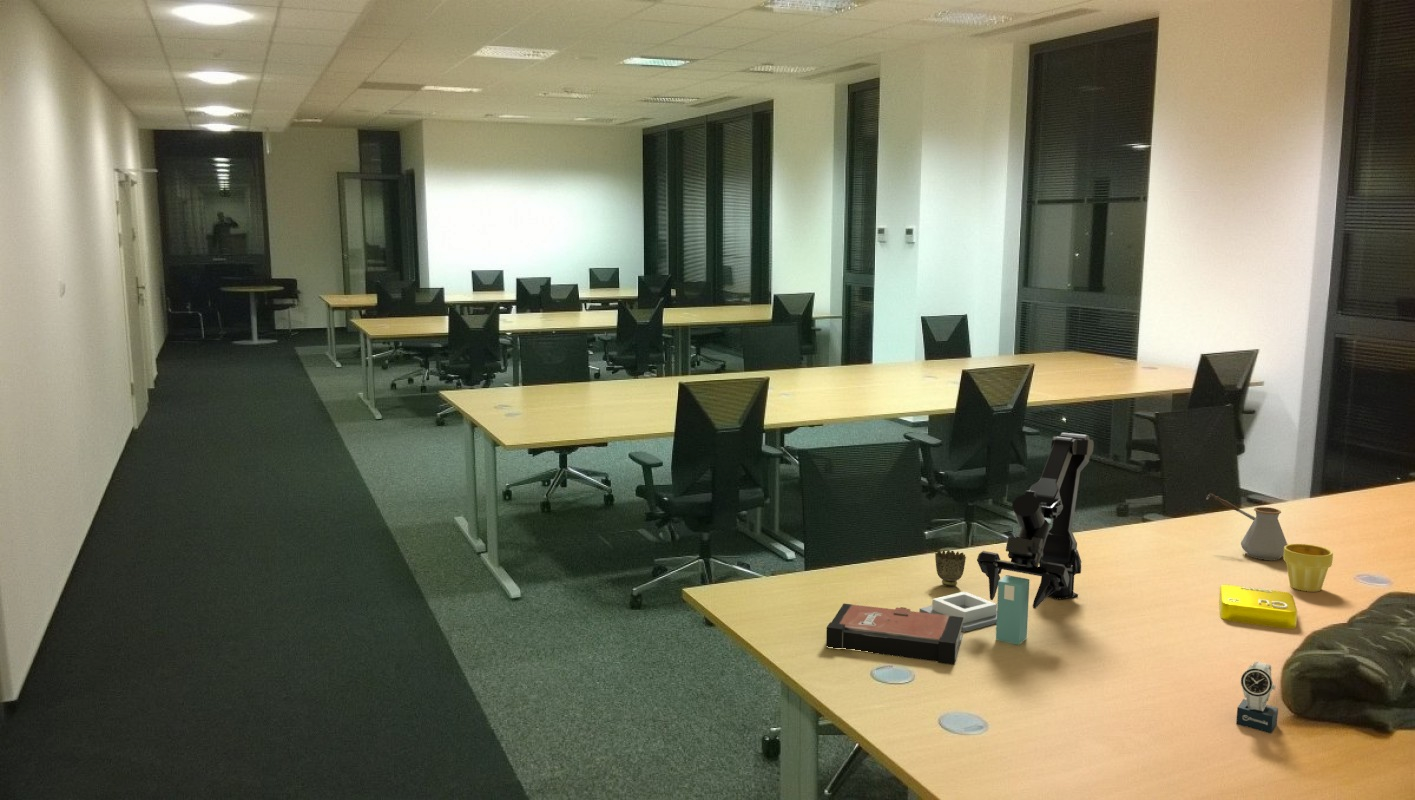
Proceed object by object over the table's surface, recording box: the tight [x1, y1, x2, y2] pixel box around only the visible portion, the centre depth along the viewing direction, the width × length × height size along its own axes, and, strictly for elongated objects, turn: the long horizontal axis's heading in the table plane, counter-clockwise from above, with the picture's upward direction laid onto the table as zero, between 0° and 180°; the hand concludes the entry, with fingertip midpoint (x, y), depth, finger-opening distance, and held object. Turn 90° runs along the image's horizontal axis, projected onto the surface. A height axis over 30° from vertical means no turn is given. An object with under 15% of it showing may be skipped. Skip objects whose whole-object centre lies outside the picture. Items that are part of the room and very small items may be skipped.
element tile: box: [1218, 584, 1298, 630], centre depth 233 cm, size 15×15×5 cm
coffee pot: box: [1205, 492, 1289, 561], centre depth 279 cm, size 21×12×15 cm, turn 46°
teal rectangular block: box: [995, 574, 1030, 646], centre depth 218 cm, size 5×5×13 cm
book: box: [825, 603, 964, 666], centre depth 217 cm, size 26×18×5 cm
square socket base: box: [918, 591, 997, 633], centre depth 232 cm, size 14×14×4 cm
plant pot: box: [1282, 543, 1334, 593], centre depth 251 cm, size 10×10×10 cm
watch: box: [1235, 661, 1279, 734], centre depth 179 cm, size 6×8×11 cm
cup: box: [934, 550, 967, 588], centre depth 253 cm, size 8×7×8 cm
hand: (1012, 603), depth 217 cm, fingers open, 9 cm apart
